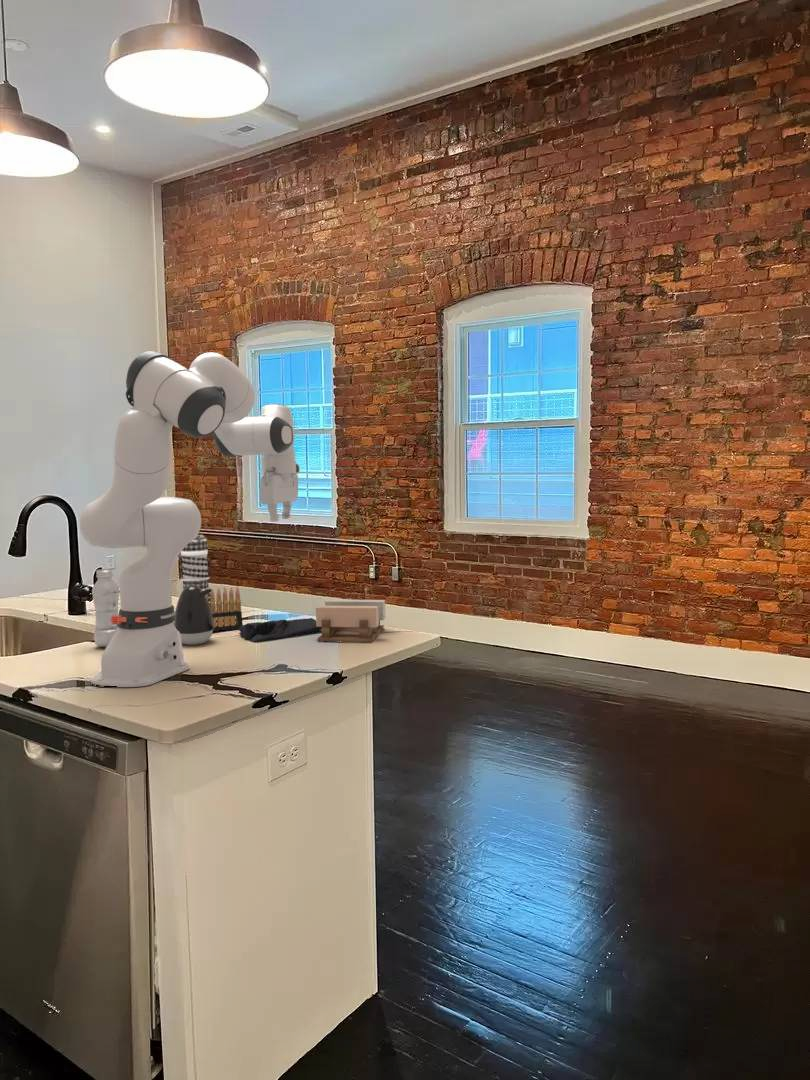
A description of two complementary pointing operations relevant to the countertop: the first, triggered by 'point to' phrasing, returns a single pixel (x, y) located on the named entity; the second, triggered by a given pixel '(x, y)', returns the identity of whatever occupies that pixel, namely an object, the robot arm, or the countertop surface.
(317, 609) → the clay strip
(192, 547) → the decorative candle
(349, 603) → the cream rectangular bar
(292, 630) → the dark slate chunk
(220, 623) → the ammunition clip
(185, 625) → the pump dispenser
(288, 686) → the countertop surface
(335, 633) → the walnut drying rack
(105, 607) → the plastic bottle
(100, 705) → the countertop surface
